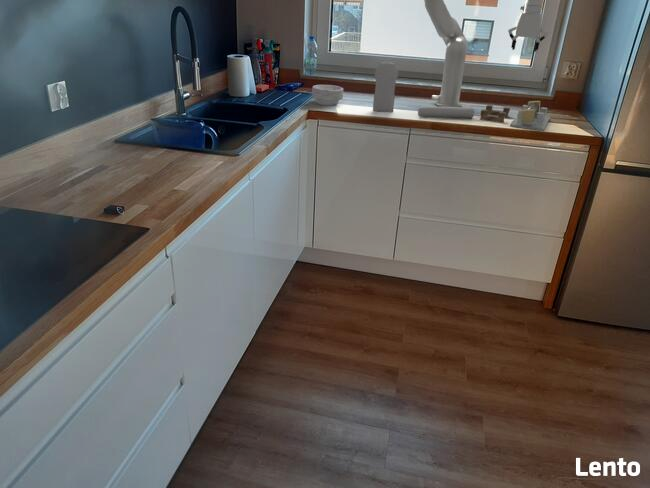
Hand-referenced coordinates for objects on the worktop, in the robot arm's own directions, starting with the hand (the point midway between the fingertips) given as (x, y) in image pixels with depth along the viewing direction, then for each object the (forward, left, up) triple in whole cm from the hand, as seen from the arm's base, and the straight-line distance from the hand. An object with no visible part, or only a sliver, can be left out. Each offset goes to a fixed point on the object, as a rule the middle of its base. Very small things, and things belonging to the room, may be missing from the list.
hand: (524, 50), depth 234 cm
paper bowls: (-82, -38, -29) cm, 95 cm away
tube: (-25, -31, -29) cm, 49 cm away
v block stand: (+11, -18, -28) cm, 35 cm away
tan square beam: (+11, -18, -26) cm, 33 cm away
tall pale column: (-53, -37, -28) cm, 71 cm away
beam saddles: (-5, -18, -28) cm, 34 cm away
